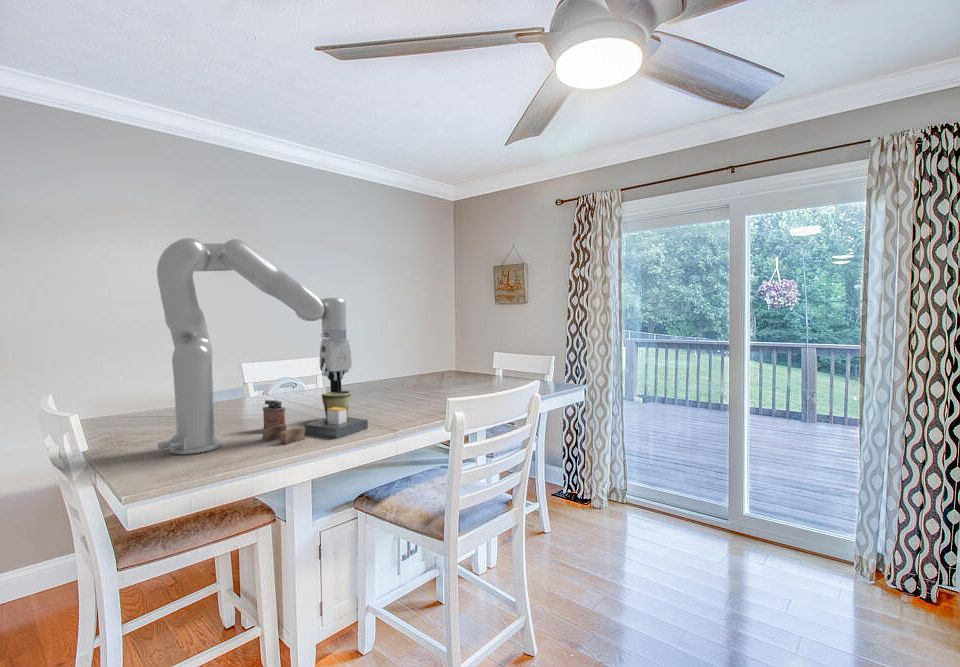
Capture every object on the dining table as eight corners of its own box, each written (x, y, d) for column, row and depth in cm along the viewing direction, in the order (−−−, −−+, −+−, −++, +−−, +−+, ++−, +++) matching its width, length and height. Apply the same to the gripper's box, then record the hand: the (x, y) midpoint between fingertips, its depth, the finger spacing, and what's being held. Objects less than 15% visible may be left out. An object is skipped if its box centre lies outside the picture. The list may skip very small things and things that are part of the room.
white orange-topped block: (338, 431, 155) (338, 410, 155) (327, 430, 157) (327, 408, 157) (346, 429, 158) (346, 408, 158) (335, 427, 160) (335, 406, 160)
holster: (285, 444, 142) (285, 432, 142) (262, 440, 147) (262, 429, 147) (304, 438, 148) (304, 427, 148) (282, 435, 153) (281, 424, 153)
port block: (336, 438, 148) (336, 429, 148) (304, 433, 155) (304, 424, 155) (367, 428, 160) (367, 419, 160) (336, 424, 167) (336, 415, 167)
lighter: (288, 429, 161) (287, 399, 160) (281, 431, 157) (280, 401, 157) (268, 428, 163) (267, 398, 162) (261, 430, 160) (260, 400, 159)
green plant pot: (344, 423, 167) (343, 395, 167) (317, 423, 169) (316, 395, 169) (359, 415, 180) (358, 389, 180) (334, 415, 182) (333, 388, 181)
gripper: (325, 337, 148) (327, 396, 149) (359, 334, 161) (360, 389, 162) (308, 337, 151) (309, 395, 152) (342, 334, 164) (344, 387, 165)
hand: (336, 391), depth 157 cm, fingers closed
